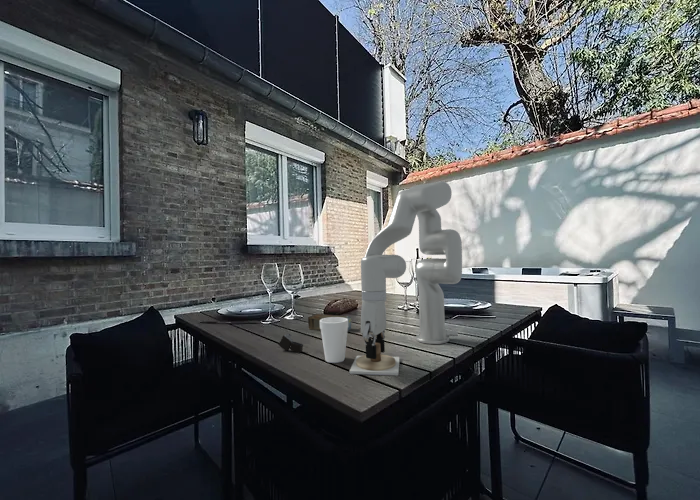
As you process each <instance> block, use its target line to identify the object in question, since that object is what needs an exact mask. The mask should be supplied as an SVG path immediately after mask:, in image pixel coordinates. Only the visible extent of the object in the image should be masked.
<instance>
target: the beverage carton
mask: <svg viewBox="0 0 700 500" xmlns="http://www.w3.org/2000/svg"><path fill="white" fill-rule="evenodd" d="M329 317H343V318H347V319H348V330H347V332H348V331H349V330H351V329H352V316H349V315H338V314H337V315H336V314H335V315H334V314H324V313H315V314H312V315H309V316H308V317H307V318H308V319H307V324H308V330H313V331H321V329H320V320H321V319H323V318H329Z"/></svg>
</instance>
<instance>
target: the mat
mask: <svg viewBox="0 0 700 500" xmlns="http://www.w3.org/2000/svg"><path fill="white" fill-rule="evenodd" d="M361 356H362V355H356V356H355V358H354V361H353V363H352V364H351V367H350V369H349V375H350V374H351V375H372V376H373V375H374V376H375V375H376V376H379V375H380V376H399V372H400V371H399V370H400V359H401V358H400V356H392V357H393V358H394V359H395V362H396V364H395V366H394V367H392V368H390V369H386V370H378V371H373V370H365V369H362V368H359V367H358V366H357V365H356V360H357V358H359V357H361Z"/></svg>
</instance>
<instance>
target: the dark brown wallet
mask: <svg viewBox="0 0 700 500" xmlns="http://www.w3.org/2000/svg"><path fill="white" fill-rule="evenodd" d="M277 345H278V346H279V347H280V348H282V349H283V350H284V351H285V352H288V351H289V350H290V351H292V352H293V353H302V352H303V347H304V344H303V343H301V342H296V341H294V340H293V339H292V334H290V333H286V334H283V335H282V338H281V339H280V341H279V343H278V344H277Z"/></svg>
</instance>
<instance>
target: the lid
mask: <svg viewBox="0 0 700 500" xmlns="http://www.w3.org/2000/svg"><path fill="white" fill-rule="evenodd" d="M375 345H376V356H377V358H376V359H370V358H366V354H365V355H360V356H361V357H359V358H357V360H356V365H357V366H358V367H359V368H362V369H365V370H373V371H378V370H386V369H390V368H392V367H394V366H395V364H396V362H395V359H394V358H393V357H394V356H390V355H388V354H382V353H381V346H380V343H375Z"/></svg>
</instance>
